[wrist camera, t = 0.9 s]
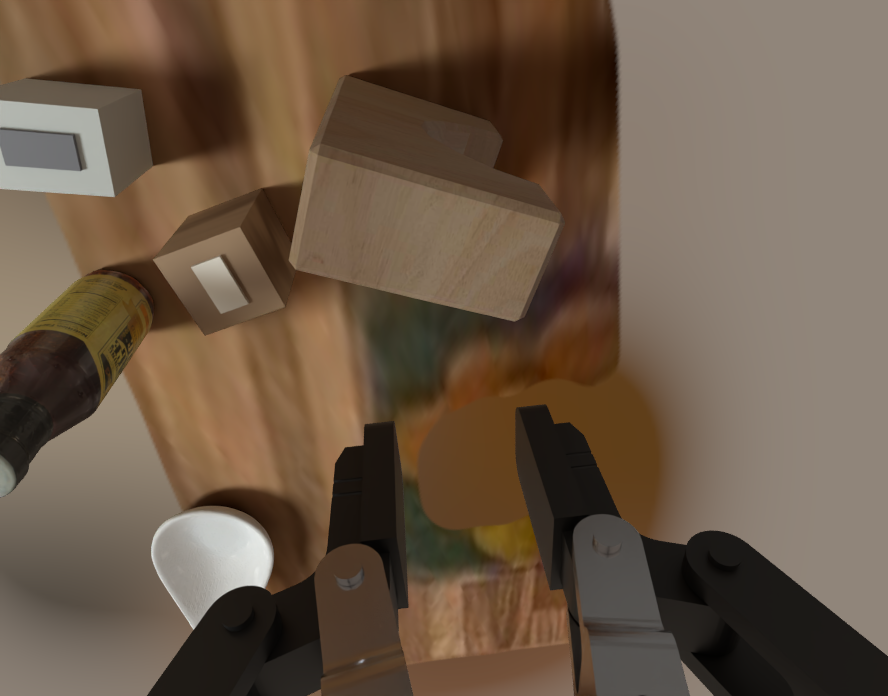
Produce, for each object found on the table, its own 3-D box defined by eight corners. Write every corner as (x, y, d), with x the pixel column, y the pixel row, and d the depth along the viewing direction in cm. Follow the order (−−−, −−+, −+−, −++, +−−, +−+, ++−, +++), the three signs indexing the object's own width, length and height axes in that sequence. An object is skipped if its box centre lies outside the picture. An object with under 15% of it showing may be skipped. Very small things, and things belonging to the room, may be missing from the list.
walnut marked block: (188, 215, 43) (151, 261, 36) (262, 187, 42) (238, 228, 35) (230, 284, 46) (203, 337, 39) (299, 258, 46) (284, 309, 39)
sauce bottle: (138, 347, 48) (10, 540, 32) (61, 307, 46) (-123, 494, 29) (175, 291, 46) (58, 468, 29) (96, 246, 43) (-81, 411, 27)
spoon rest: (149, 490, 57) (122, 550, 51) (271, 483, 58) (258, 541, 52) (198, 630, 70) (181, 691, 64) (298, 622, 71) (290, 682, 65)
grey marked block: (26, 78, 37) (-44, 97, 31) (141, 89, 38) (95, 110, 32) (46, 157, 40) (-16, 189, 34) (153, 165, 41) (112, 198, 35)
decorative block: (494, 122, 41) (572, 219, 24) (467, 197, 44) (521, 330, 27) (341, 69, 39) (311, 137, 22) (323, 152, 41) (283, 270, 25)
